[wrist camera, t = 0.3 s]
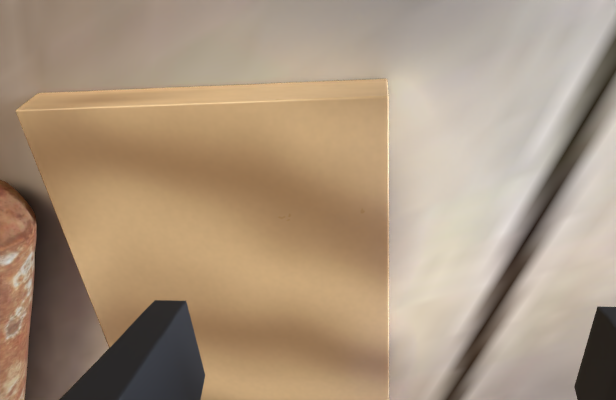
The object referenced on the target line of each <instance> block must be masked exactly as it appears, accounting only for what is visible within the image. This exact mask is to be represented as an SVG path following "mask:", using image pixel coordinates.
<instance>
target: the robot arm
mask: <svg viewBox="0 0 616 400" xmlns="http://www.w3.org/2000/svg"><path fill="white" fill-rule="evenodd" d="M204 379H205V372H204V368H203V364H202V360H201V356H200V352H199V348H198V345H197V341H196V337H195V333H194V329H193V325H192V321H191V317H190V313H189V310H188V306H187V302H186V301H172V300H155V301H154V302H153V303H152V304H151V305H150V306H149V307H148V308H147V309H146V310H145V311H144V312H143V313H142V314H141V315H140V316H139V317H138V318H137V319H136V320H135V321H134V322H133V323H132V324H131V326H130V327H129V328H128V329H127V330H126V331H125V332H124V333H123V334H122V335H121V336H120V337H119V338H118V339H117V341H116V342H115V343H114V344H113V345H112V346H111V347H110V348H109V349H108V350H107V351H106V352H105V353H104V354H103V355H102V356H101V358H100V359H99V360H98V361H97V362H96V363H95V364H94V365H93V366H92V367H91V368H90V369H89V370H88V371H87V372H86V373H85V374H84V375H83V376H82V377H81V378H80V379H79V380H78V381H77V382H76V383H75V384H74V385H73V386H72V387H71V388H70V389H69V390H68V391H67V392H66V393H65V394H64V395H63V396H62V397H61V398H60V399H59V400H201V395H202V390H203V385H204ZM575 391H576V395H577V399H578V400H616V307H597V311H596V314H595V318H594V321H593V324H592V328H591V331H590V335H589V338H588V342H587V345H586V349H585V352H584V356H583V359H582V363H581V366H580V370H579V373H578V376H577V380H576V383H575Z"/></svg>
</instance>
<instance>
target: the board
mask: <svg viewBox="0 0 616 400" xmlns="http://www.w3.org/2000/svg"><path fill="white" fill-rule="evenodd" d="M16 113H17V116H18V118H19V121H20V124H21V126H22V129H23V131H24V134H25V136H26V139H27V141H28V144H29V146H30V149H31V151H32V154H33V156H34V159H35V161H36V164H37V166H38V169H39V171H40V174H41V177H42V179H43V182H44V184H45V187H46V189H47V192H48V194H49V197H50V199H51V202H52V204H53V207H54V209H55V212H56V214H57V217H58V219H59V222H60V224H61V227H62V230H63V232H64V235H65V237H66V240H67V242H68V245H69V247H70V250H71V252H72V255H73V257H74V260H75V262H76V265H77V267H78V270H79V272H80V275H81V277H82V280H83V283H84V285H85V288H86V290H87V293H88V295H89V298H90V300H91V303H92V305H93V308H94V310H95V313H96V315H97V318H98V320H99V323H100V325H101V328H102V330H103V333H104V336H105V338H106V341H107V343H108V346H109V348H110V347H111V346H112V345H113V344H114V343H115V342H116V341H117V339H118V338H119V337H120V336H121V335H122V334H123V333H124V332H125V331H126V330H127V329H128V328H129V327H130V326H131V324H132V323H133V322H134V321H135V320H136V319H137V318H138V317H139V316H140V315H141V314H142V313H143V312H144V311H145V310H146V309H147V308H148V307H149V306H150V305H151V304H152V303H153V302H154V301H155V300H172V301H186V302H187V306H188V310H189V313H190V317H191V321H192V325H193V329H194V333H195V337H196V341H197V345H198V348H199V352H200V356H201V360H202V364H203V368H204V372H205V379H204V385H203V390H202V395H201V400H389V93H388V80H387V79H368V80H343V81H319V82H295V83H271V84H247V85H223V86H199V87H175V88H151V89H127V90H103V91H79V92H55V93H38V94H36V95H35V96H34V97H33V98H31V99H30V100H29V101H27V102H26V103H25V104H23V105H22V106H21V107H19V108H18V109H17V110H16Z"/></svg>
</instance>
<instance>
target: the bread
mask: <svg viewBox="0 0 616 400" xmlns="http://www.w3.org/2000/svg"><path fill="white" fill-rule="evenodd" d="M36 230H37V223H36V216H35V214H34V212H33V210H32V208H31V207H30V205H29V204H28V203H27V202H26V200H25V199H24V198H23V197H22V196H21V195H20V194H19V193H18V192H17V191H16V190H15V189H14V188H13V187H12V186H11V185H9V184H8V183H7V182H5V181H2V180H0V400H24V398H25V386H26V378H27V362H28V347H29V331H30V319H31V309H32V300H33V288H34V273H35V247H36V239H37V233H36Z"/></svg>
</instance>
